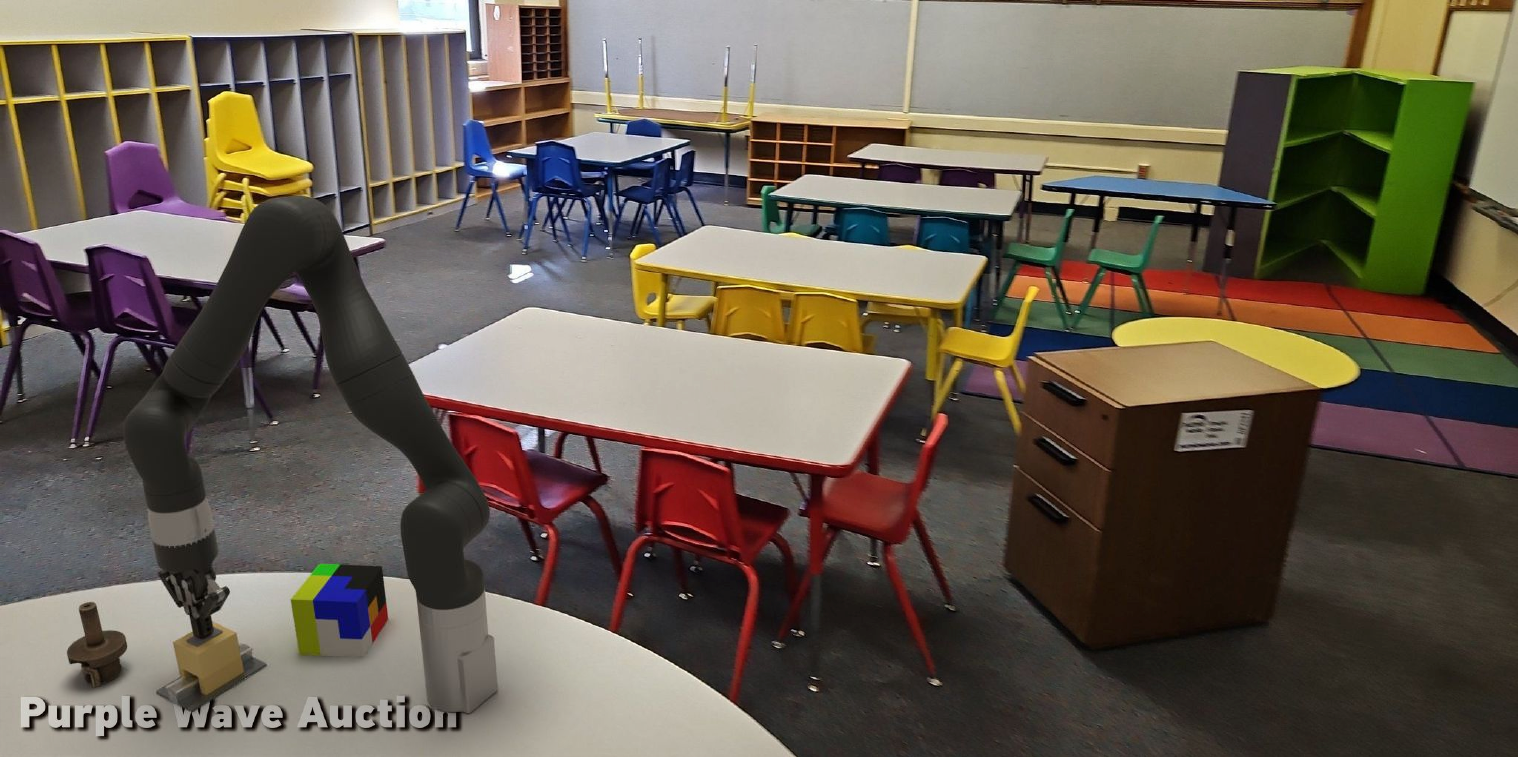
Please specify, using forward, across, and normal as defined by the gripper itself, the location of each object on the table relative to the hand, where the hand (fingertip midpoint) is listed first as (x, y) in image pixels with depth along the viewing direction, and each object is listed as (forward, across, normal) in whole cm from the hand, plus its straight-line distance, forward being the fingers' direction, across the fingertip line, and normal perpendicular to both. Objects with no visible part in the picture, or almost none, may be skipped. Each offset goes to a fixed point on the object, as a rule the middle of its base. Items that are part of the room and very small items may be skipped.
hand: (203, 634), depth 144 cm
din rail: (+8, 0, 0) cm, 8 cm away
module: (+7, 0, 0) cm, 7 cm away
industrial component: (+8, +14, +7) cm, 18 cm away
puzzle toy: (+8, -8, -17) cm, 20 cm away
